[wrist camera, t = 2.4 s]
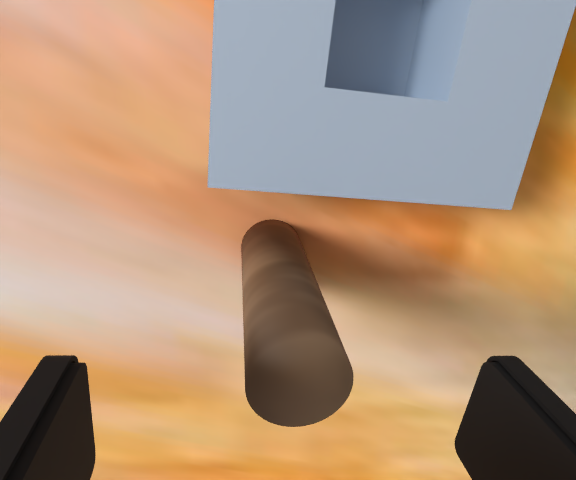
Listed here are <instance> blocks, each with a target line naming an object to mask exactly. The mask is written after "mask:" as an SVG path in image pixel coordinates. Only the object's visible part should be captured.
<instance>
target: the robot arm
mask: <svg viewBox="0 0 576 480" xmlns="http://www.w3.org/2000/svg"><path fill="white" fill-rule="evenodd" d="M455 449H456V452H457V455H458V457H459V458H460V460H461V462H462V463H463V465H464V467H465V468H466V470H467V472H468V473H469V475H470V477H471V478H472V480H576V414H575V413H574V412H573V411H572V410H571V409H570V408H569V407H568V406H567V405H566V404H565V403H564V402H563V401H562V400H561V399H560V398H559V397H558V396H557V395H556V394H555V393H554V392H553V391H552V390H551V389H550V388H549V387H548V386H547V385H546V384H545V383H544V382H543V381H542V380H541V379H540V378H539V377H538V376H537V375H536V374H535V373H534V372H533V371H532V370H531V369H530V368H528V367H527V366H526V365H525V364H524V363H523V362H522V361H521V360H520V359H519V358H518V357H515V356H491V357H490V358H488V360H487V362H485V363H483V365H482V367H481V369H480V372H479V375H478V378H477V380H476V383H475V386H474V389H473V391H472V394H471V397H470V400H469V402H468V405H467V408H466V411H465V413H464V416H463V419H462V422H461V424H460V427H459V430H458V433H457V435H456V438H455ZM94 464H95V443H94V433H93V423H92V413H91V403H90V393H89V384H88V374H87V366H86V363H78V359H77V357H76V356H45V357H43V359H42V360H41V361H40V363H39V364H38V366H37V367H36V369H35V370H34V372H33V373H32V375H31V376H30V378H29V379H28V381H27V382H26V384H25V385H24V387H23V388H22V390H21V391H20V393H19V395H18V396H17V398H16V399H15V401H14V402H13V404H12V405H11V407H10V408H9V410H8V411H7V413H6V414H5V416H4V417H3V419H2V420H1V422H0V480H90V478H91V475H92V472H93V468H94Z"/></svg>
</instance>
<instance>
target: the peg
mask: <svg viewBox="0 0 576 480" xmlns="http://www.w3.org/2000/svg"><path fill="white" fill-rule="evenodd" d="M241 252H242V288H243V324H244V360H245V392H246V397H247V400H248V402H249V404H250V406H251V408H252V409H253V410H254V411H255V412H256V413H257V414H258V415H259V416H260V417H262V418H263V419H265V420H267V421H268V422H271V423H273V424H277V425H281V426H287V427H298V426H306V425H310V424H314V423H317V422H319V421H321V420H323V419H325V418H327V417H329V416H330V415H332V414H333V413H335V412H336V411H337V410H338V409H339V408H340V407H341V406H342V405H343V404H344V402H345V401H346V400H347V398H348V396H349V394H350V392H351V389H352V385H353V370H352V367H351V364H350V362H349V359H348V357H347V354H346V352H345V349H344V347H343V345H342V342H341V340H340V337H339V335H338V332H337V330H336V327H335V325H334V323H333V320H332V318H331V315H330V313H329V310H328V308H327V305H326V303H325V301H324V298H323V296H322V293H321V291H320V288H319V286H318V283H317V281H316V279H315V276H314V274H313V271H312V269H311V266H310V264H309V262H308V259H307V257H306V254H305V252H304V249H303V247H302V244H301V242H300V240H299V237H298V235H297V233H296V232H295V230H294V229H293V228H292V227H291V226H290V225H288V224H287V223H285V222H282V221H279V220H265V221H261V222H259V223H257V224H255V225H253V226H252V227H251V228H250V229H249V230H248V231H247V232H246V234H245V235H244V238H243V240H242V245H241Z"/></svg>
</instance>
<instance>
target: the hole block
mask: <svg viewBox="0 0 576 480" xmlns="http://www.w3.org/2000/svg"><path fill="white" fill-rule="evenodd" d="M575 7H576V0H214V22H213V51H212V79H211V107H210V136H209V164H208V187H210V188H224V189H237V190H250V191H264V192H277V193H291V194H304V195H318V196H331V197H344V198H358V199H371V200H385V201H398V202H412V203H425V204H438V205H452V206H465V207H479V208H492V209H506V210H511V209H512V206H513V203H514V200H515V197H516V193H517V190H518V187H519V184H520V181H521V178H522V174H523V171H524V168H525V165H526V162H527V159H528V155H529V152H530V149H531V146H532V143H533V140H534V136H535V133H536V130H537V127H538V124H539V121H540V117H541V114H542V111H543V108H544V105H545V102H546V98H547V95H548V92H549V89H550V86H551V83H552V79H553V76H554V73H555V70H556V67H557V64H558V60H559V57H560V54H561V51H562V48H563V45H564V41H565V38H566V35H567V32H568V29H569V26H570V22H571V19H572V16H573V13H574V10H575Z"/></svg>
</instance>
